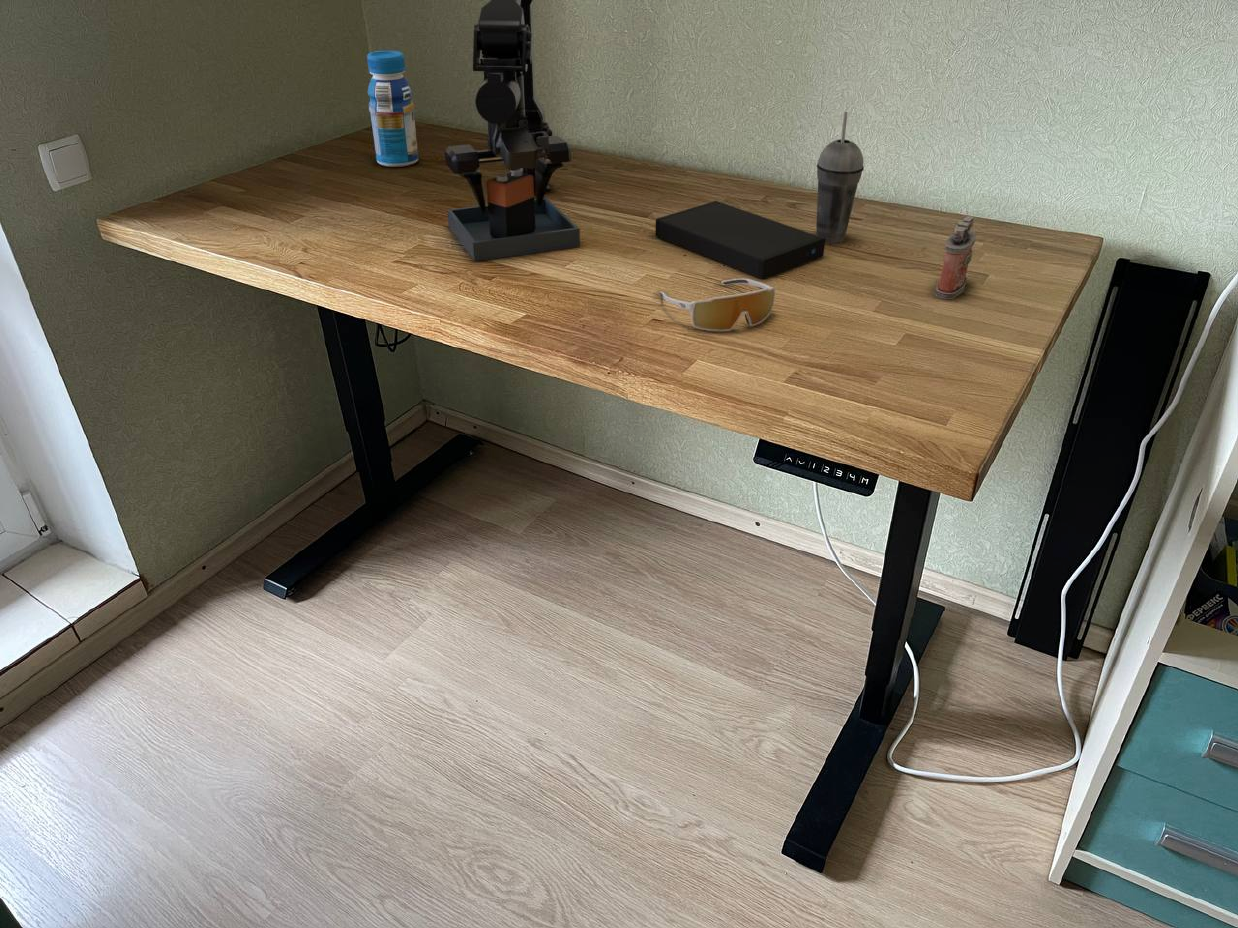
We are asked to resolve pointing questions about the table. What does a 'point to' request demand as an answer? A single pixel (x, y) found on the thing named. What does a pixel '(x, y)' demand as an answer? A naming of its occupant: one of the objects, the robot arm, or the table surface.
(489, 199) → the battery
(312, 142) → the table surface
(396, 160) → the beverage bottle
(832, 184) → the beverage cup
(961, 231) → the lighter
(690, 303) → the sunglasses
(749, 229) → the external hard drive
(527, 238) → the tray
